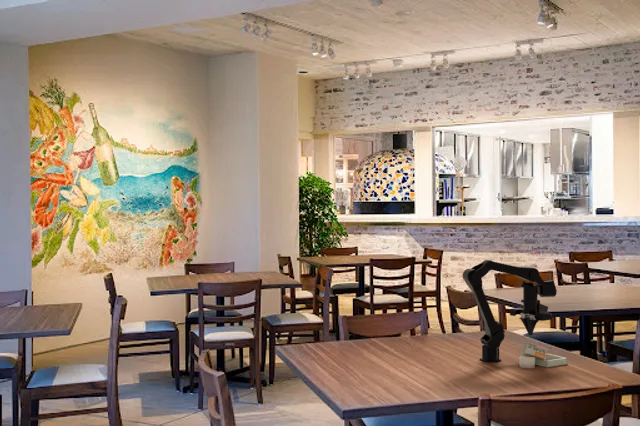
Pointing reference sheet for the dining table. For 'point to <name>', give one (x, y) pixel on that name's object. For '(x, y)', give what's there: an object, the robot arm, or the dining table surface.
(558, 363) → the squared c-shaped bracket
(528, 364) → the white rounded block
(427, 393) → the dining table surface
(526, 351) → the supplement box
